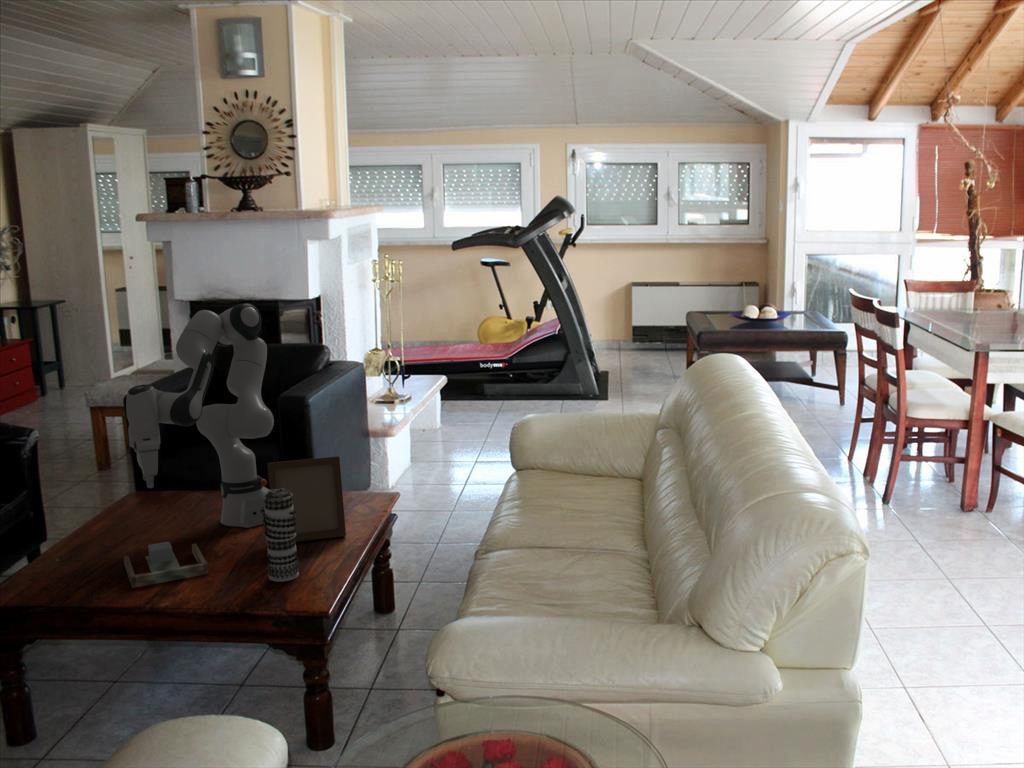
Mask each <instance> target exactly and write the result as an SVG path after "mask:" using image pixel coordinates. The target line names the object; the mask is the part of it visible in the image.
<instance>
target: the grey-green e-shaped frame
mask: <svg viewBox="0 0 1024 768" xmlns="http://www.w3.org/2000/svg"><path fill="white" fill-rule="evenodd" d="M191 550H192V555H193V557H194V559H195V560H196V563H190V564H186V565H182V566H180V564H179V562H178V559H177V557H176V555H175V553H174V552H173V561H167V562H161V563H156V564H152V563H151V561H150V558H149V555H147V556H145V560H146V562H147V566H148V568H149V570H150V571H148V572H141V573H136V574H135V571H134V568H133V566H132V563H131V560H130V556H129V555H124V556H123V562H124V567H125V570H126V573H127V574H126V575H127V577H128V579H129V584H130V586H131V589H135V588H140V587H141V588H142V587H145V586H150V585H151V586H152V585H156V584H160V583H162V584H163V583H166V582H173V581H177V580H182V579H188V578H194V577H199V576H203V575H208V574H209V567H208V562H207V561H206V559H205V557H204V555H203V554H202V552H201V550H200V548H199V546H198V545H197V543H191Z"/></svg>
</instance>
